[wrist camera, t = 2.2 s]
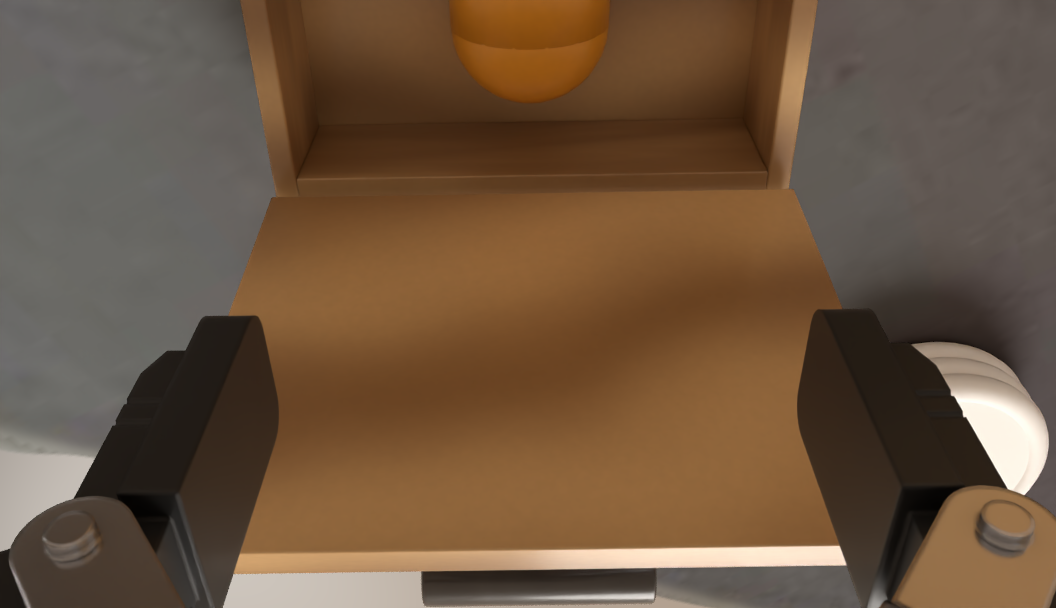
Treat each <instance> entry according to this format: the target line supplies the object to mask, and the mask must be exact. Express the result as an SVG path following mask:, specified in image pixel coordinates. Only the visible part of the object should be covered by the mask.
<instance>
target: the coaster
mask: <svg viewBox="0 0 1056 608" xmlns="http://www.w3.org/2000/svg"><path fill="white" fill-rule="evenodd" d="M912 346H913V347H915V348H916V349H917V350H918V351H919V352H921V353H922V354H923V355H924V356H926V357H927V358H928V359H929V360H931V361H932V362H933V363H934V364H936V365H937V367H938V369H939V371H940V372H941V374H942V376H943V378H944V379H945V381H946V383H947V385H948V386H949V388H950V390H951V396H954V397H955V398H956V400H957V402H958V404H959V405H960V407H961V409H962V410H963V417H967V419H968V421H969V423H970V424H971V426H972V428H973V430H974V431H975V433H976V435H977V436H978V438H979V440H980V442H981V443H982V445H983V447H984V449H985V450H986V452H987V454H988V456H989V457H990V459H991V461H992V462H993V464H994V466H995V468H996V469H997V471H998V473H999V475H1000V476H1001V478H1002V480H1003V482H1004V483H1005V485H1006V487H1007V488H1008V489H1009V490H1012V491H1015V492H1018V493H1020V494H1023V495H1025V494H1026V492H1027V491H1028V490H1029V489H1030V488H1031V487H1032V485H1033V484H1034V482H1035V481H1036V480H1037V478H1038V476H1039V475H1040V473H1041V471H1042V469H1043V467H1044V464H1045V461H1046V458H1047V453H1048V447H1049V440H1048V431H1047V427H1046V423H1045V419H1044V417H1043V415H1042V413H1041V411H1040V409H1039V408H1038V407H1037V406H1036V404H1035V403H1034V402H1033V401H1032V399H1031V397H1030V395H1029V393H1028V392H1027V391H1026V389H1025V388H1024V387H1023V386H1022V385H1021V383H1020V381H1019V379H1018V377H1017V376H1016V375H1015V373H1014V372H1013V371H1012V370H1011V369H1010V368H1009V367H1008V366H1007V365H1006V364H1005V363H1004V362H1002V361H1001V360H999V359H997V358H996V357H994V356H993V355H991V354H990V353H987V352H985V351H983V350H981V349H978V348H975V347H972V346H968V345H963V344H958V343H950V342H926V343H918V344H912Z"/></svg>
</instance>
